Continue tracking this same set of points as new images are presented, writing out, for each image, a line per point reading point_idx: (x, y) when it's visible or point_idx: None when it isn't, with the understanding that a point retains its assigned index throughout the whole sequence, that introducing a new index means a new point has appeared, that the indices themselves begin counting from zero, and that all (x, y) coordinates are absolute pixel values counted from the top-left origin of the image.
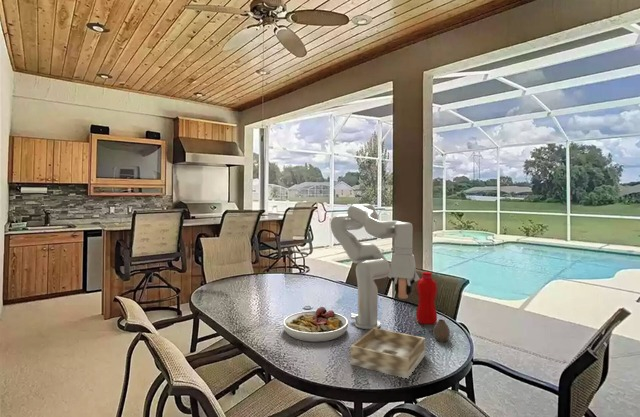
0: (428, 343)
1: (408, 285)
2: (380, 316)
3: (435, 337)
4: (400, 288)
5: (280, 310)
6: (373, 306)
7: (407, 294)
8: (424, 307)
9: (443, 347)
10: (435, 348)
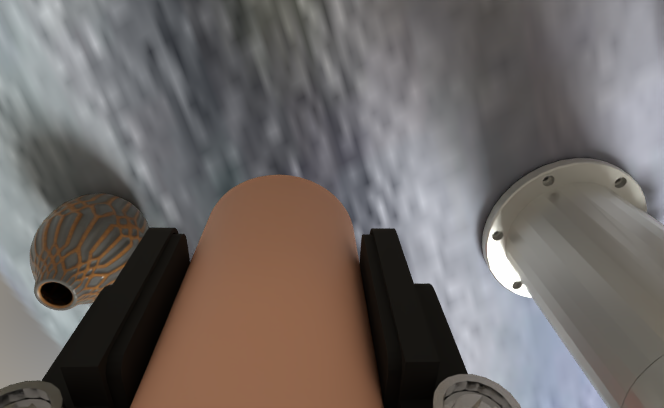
0: (153, 138)
1: (47, 389)
2: (506, 362)
3: (129, 203)
4: (294, 281)
5: None
6: (594, 286)
7: (159, 230)
8: None
9: (55, 123)
10: (86, 84)
